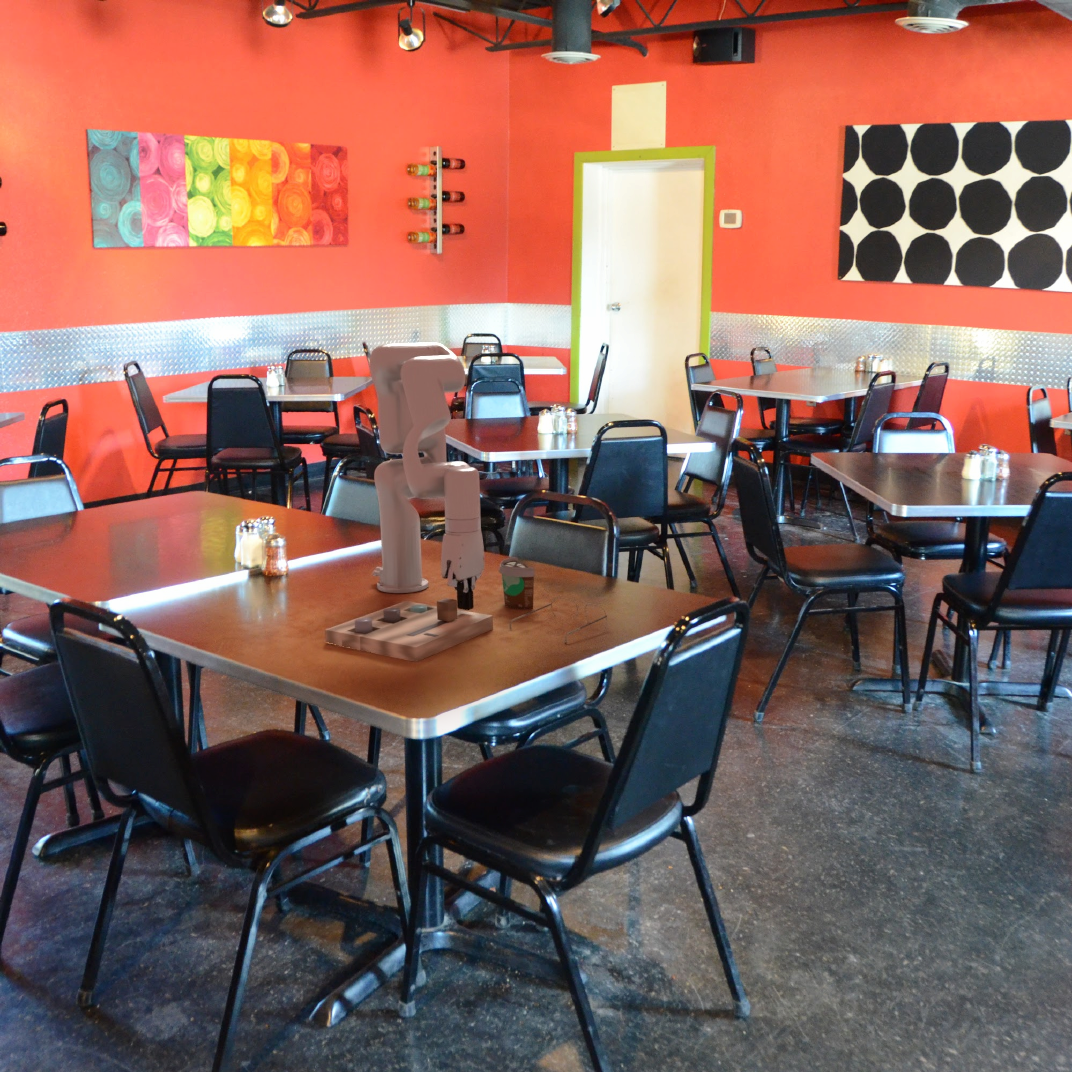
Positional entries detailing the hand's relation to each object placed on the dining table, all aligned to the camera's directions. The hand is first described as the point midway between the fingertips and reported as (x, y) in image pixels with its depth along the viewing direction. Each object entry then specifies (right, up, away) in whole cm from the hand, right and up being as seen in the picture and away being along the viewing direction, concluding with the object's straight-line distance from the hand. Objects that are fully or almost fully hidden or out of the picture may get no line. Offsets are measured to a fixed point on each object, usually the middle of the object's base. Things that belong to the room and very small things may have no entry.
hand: (465, 608), depth 250 cm
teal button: (-10, -3, +5) cm, 12 cm away
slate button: (-20, -5, -10) cm, 23 cm away
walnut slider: (-3, -2, -5) cm, 6 cm away
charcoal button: (-15, -3, -3) cm, 16 cm away
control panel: (-11, -6, -5) cm, 14 cm away
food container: (+10, -1, +17) cm, 20 cm away
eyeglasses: (+20, -5, -1) cm, 21 cm away
